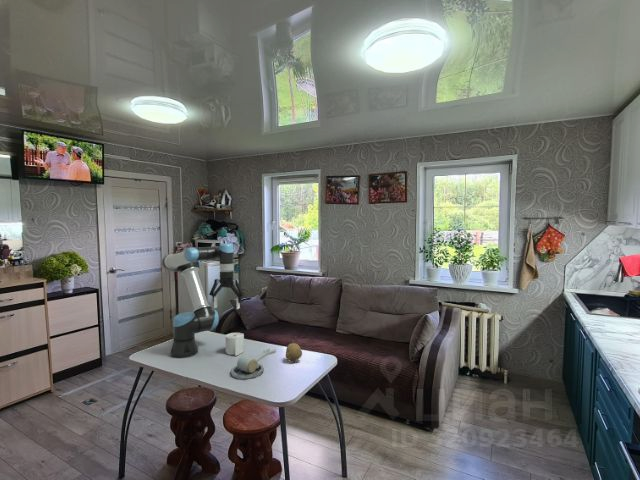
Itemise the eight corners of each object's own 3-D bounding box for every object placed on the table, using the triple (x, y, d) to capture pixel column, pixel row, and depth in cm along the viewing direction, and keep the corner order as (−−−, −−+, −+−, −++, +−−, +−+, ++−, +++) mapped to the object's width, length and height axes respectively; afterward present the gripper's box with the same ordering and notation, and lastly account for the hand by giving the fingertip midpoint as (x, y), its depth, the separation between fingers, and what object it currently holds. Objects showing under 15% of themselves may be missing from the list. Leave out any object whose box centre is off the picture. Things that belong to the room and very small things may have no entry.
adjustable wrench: (250, 367, 179) (250, 364, 179) (241, 365, 182) (241, 361, 182) (277, 351, 201) (277, 349, 201) (269, 350, 204) (269, 347, 204)
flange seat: (225, 378, 165) (225, 374, 165) (239, 365, 181) (239, 361, 181) (256, 380, 162) (256, 376, 162) (267, 367, 178) (267, 363, 178)
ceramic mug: (248, 375, 166) (248, 360, 166) (236, 372, 170) (236, 357, 170) (262, 368, 175) (263, 354, 175) (251, 365, 179) (251, 351, 179)
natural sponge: (304, 359, 188) (304, 342, 188) (297, 365, 180) (297, 347, 180) (290, 357, 192) (290, 340, 191) (283, 363, 183) (282, 345, 183)
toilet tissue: (236, 347, 208) (236, 331, 208) (249, 351, 201) (249, 335, 200) (221, 352, 200) (221, 335, 199) (234, 357, 192) (234, 339, 192)
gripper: (202, 271, 188) (203, 308, 189) (244, 272, 184) (245, 310, 185) (209, 269, 195) (209, 305, 196) (250, 270, 191) (250, 307, 192)
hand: (226, 308), depth 190 cm, fingers open, 13 cm apart
